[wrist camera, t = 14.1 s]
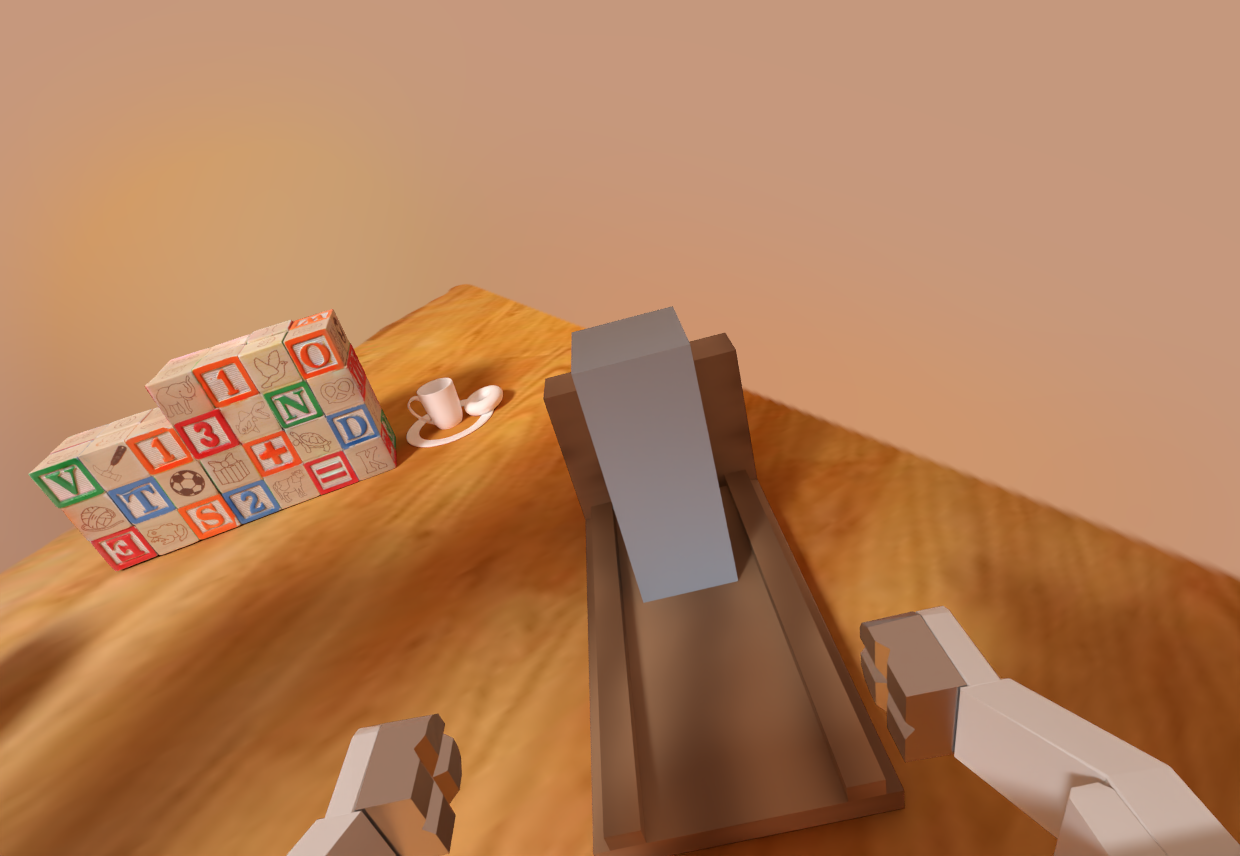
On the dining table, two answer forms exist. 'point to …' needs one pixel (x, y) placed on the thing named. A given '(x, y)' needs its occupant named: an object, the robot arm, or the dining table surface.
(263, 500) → the stack of blocks
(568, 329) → the dining table surface
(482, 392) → the teacup and saucer
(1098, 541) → the dining table surface
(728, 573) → the block
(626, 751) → the holder
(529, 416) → the dining table surface
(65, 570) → the dining table surface
